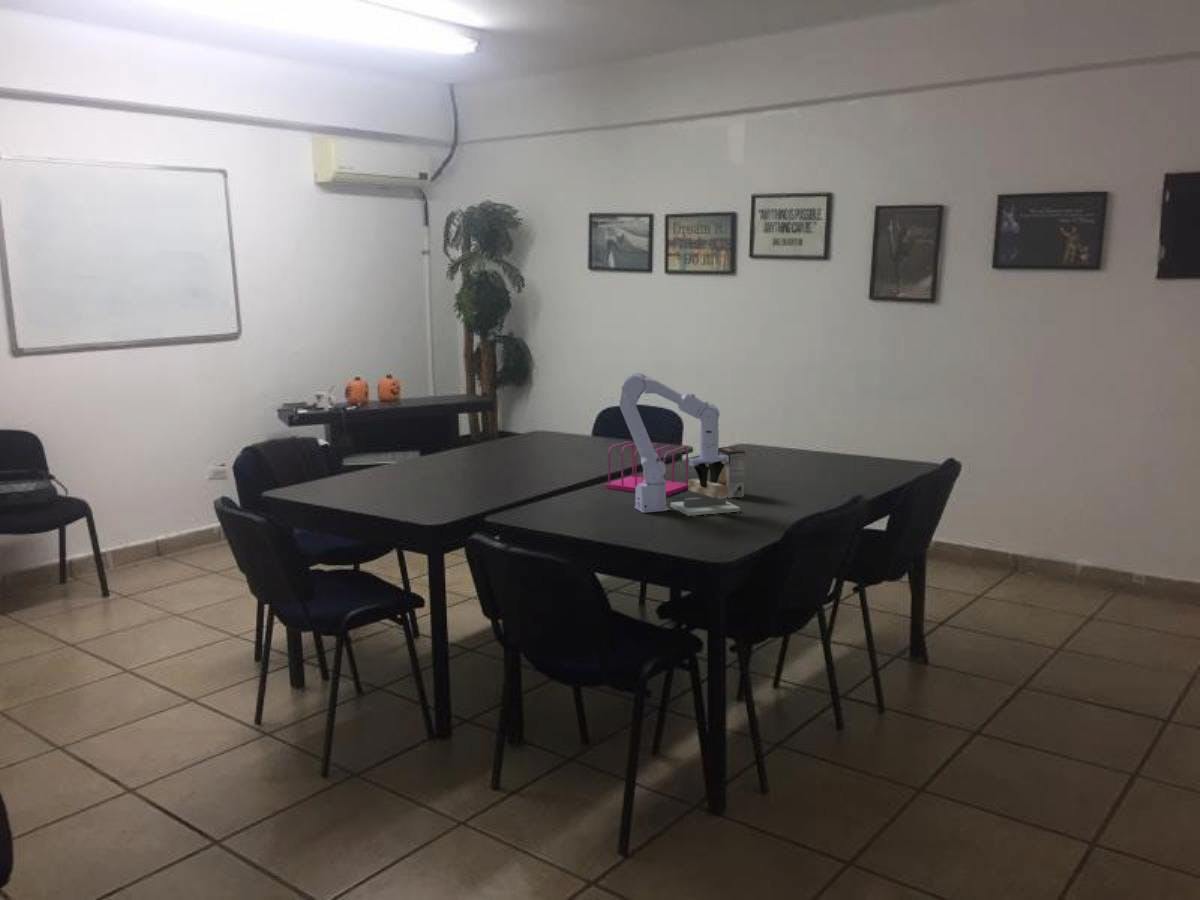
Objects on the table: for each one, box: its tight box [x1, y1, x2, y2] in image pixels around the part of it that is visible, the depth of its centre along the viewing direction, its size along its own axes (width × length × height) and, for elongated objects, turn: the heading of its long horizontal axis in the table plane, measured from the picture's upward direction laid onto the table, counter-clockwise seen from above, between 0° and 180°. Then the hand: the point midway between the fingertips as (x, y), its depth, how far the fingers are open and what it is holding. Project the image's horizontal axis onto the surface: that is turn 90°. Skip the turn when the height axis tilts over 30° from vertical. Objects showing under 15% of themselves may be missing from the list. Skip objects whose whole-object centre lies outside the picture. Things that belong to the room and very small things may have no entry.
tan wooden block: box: [687, 478, 729, 499], centre depth 306 cm, size 16×4×4 cm, turn 32°
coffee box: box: [717, 446, 746, 499], centre depth 329 cm, size 9×6×16 cm
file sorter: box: [605, 441, 689, 497], centre depth 341 cm, size 17×25×16 cm
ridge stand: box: [669, 496, 741, 516], centre depth 310 cm, size 18×14×4 cm
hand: (708, 486), depth 306 cm, fingers closed on tan wooden block, 3 cm apart
